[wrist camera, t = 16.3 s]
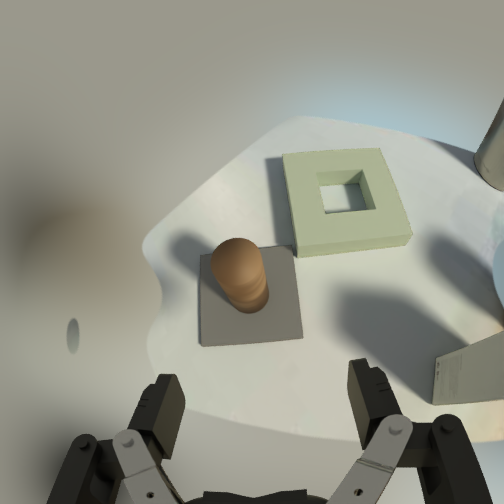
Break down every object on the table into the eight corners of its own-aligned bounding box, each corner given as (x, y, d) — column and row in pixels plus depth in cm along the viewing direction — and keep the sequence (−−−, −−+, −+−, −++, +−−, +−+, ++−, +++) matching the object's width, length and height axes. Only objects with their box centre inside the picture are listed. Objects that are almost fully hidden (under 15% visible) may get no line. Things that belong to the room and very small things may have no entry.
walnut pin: (267, 274, 35) (259, 234, 27) (271, 311, 33) (264, 282, 25) (229, 278, 35) (210, 241, 27) (230, 315, 33) (210, 287, 25)
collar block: (375, 161, 41) (379, 148, 38) (405, 245, 35) (412, 233, 32) (283, 168, 42) (282, 154, 39) (297, 258, 36) (297, 246, 33)
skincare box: (430, 405, 26) (511, 403, 13) (434, 354, 29) (513, 323, 15) (484, 401, 25) (568, 389, 11) (487, 354, 27) (568, 322, 14)
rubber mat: (291, 247, 36) (291, 244, 36) (303, 338, 32) (303, 337, 31) (201, 257, 37) (200, 255, 37) (202, 346, 32) (201, 345, 32)
